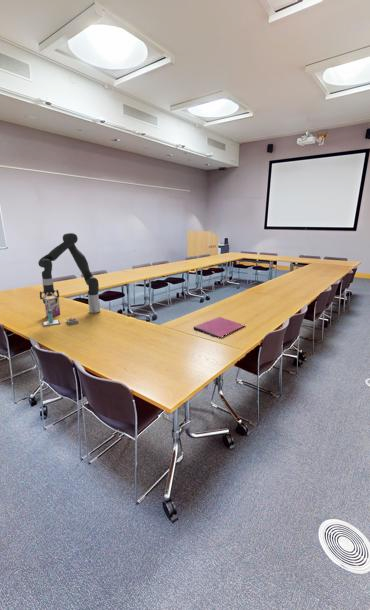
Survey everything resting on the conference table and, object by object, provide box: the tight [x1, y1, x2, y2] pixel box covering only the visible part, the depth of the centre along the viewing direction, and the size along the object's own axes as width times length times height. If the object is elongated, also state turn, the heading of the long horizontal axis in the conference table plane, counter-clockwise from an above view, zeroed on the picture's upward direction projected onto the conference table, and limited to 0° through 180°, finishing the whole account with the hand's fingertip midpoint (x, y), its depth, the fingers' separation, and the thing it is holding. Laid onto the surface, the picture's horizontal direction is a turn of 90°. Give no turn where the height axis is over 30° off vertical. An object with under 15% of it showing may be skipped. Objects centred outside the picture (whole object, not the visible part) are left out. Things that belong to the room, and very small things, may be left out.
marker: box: [47, 310, 54, 323], centre depth 239 cm, size 3×3×10 cm
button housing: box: [66, 317, 79, 326], centre depth 243 cm, size 8×8×2 cm
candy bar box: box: [44, 296, 61, 317], centre depth 258 cm, size 11×5×16 cm, turn 146°
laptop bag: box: [193, 316, 244, 339], centre depth 236 cm, size 40×4×27 cm
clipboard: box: [41, 319, 61, 328], centre depth 241 cm, size 13×10×1 cm
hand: (50, 303), depth 236 cm, fingers open, 8 cm apart
